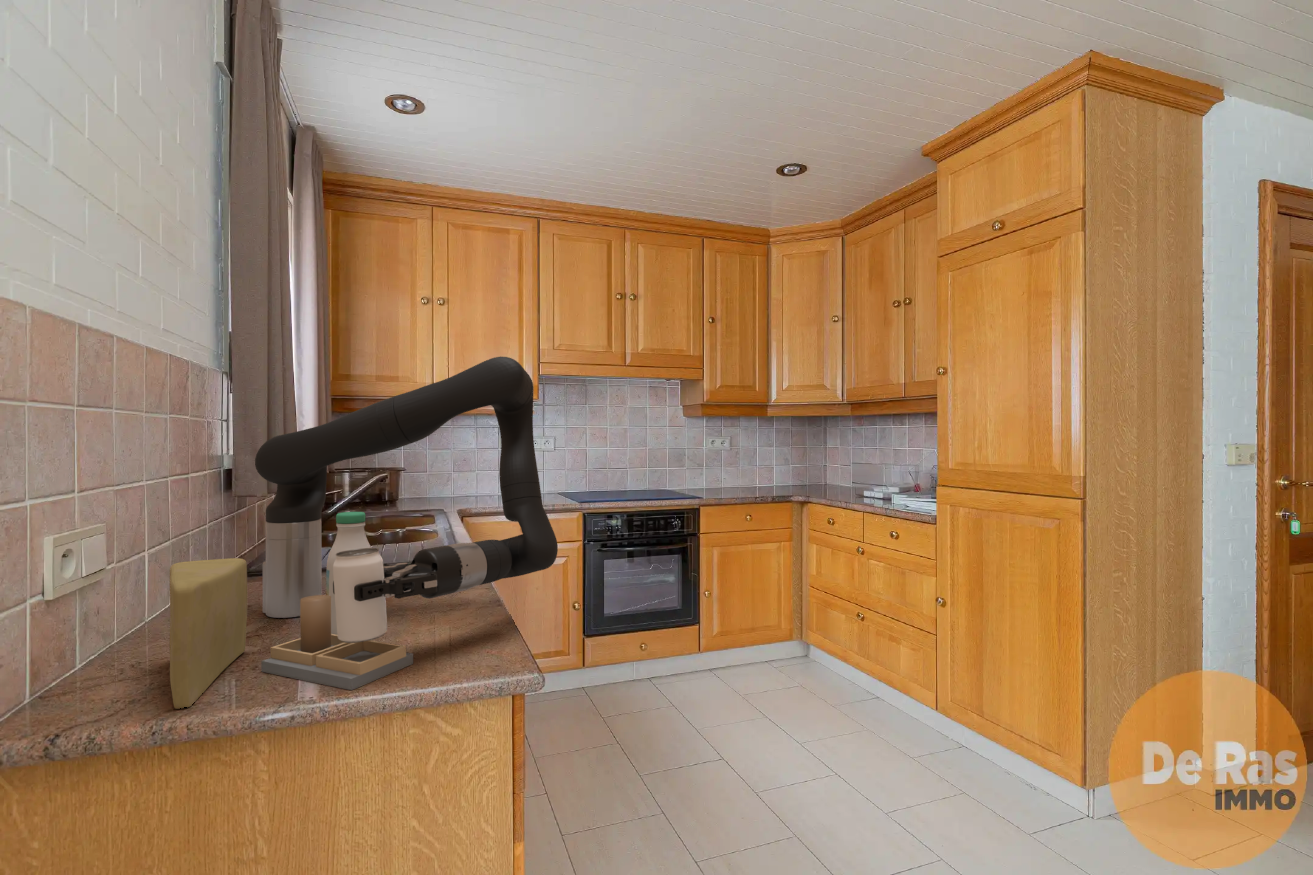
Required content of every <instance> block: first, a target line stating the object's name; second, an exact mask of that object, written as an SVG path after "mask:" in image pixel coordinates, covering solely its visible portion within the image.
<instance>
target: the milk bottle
mask: <svg viewBox="0 0 1313 875" xmlns="http://www.w3.org/2000/svg"><path fill="white" fill-rule="evenodd" d="M366 516H367V515H366V513H365V512H364V511H346V512H345V511H343V512H338V513H337V514H336V515H335V522H336V524H335V526H336V527H337V531H336V536H335V540H334V542H333V545H332V546H331V548H330V551H329V553H328V556H327V561H326V568H325V569H326V574H325V575H326V576H325V577H326V578H325V580H326V581H325V595H329V596H331V634H336V635H337V622H336V607H335V594H334V593H333V581H334V576H333V565H334V562H335V560H336V553H338V552H342V551H347V550H352V549H361V548H372V547H371V544H370V543H369V540H368V538H367V534H366V532H365V531H366V530H365V526H366V519H367V518H366Z"/></svg>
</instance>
